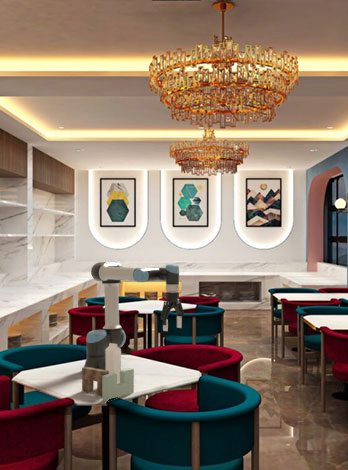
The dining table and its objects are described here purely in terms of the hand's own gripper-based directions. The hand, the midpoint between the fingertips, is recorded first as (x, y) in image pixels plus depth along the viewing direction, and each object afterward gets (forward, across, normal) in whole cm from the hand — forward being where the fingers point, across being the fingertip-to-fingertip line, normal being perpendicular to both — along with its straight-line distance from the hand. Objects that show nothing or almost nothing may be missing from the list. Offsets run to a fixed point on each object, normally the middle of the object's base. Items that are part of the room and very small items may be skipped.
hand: (172, 329), depth 308 cm
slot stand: (+27, -46, +1) cm, 53 cm away
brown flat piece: (+28, -47, +15) cm, 57 cm away
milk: (+28, -29, +19) cm, 44 cm away
